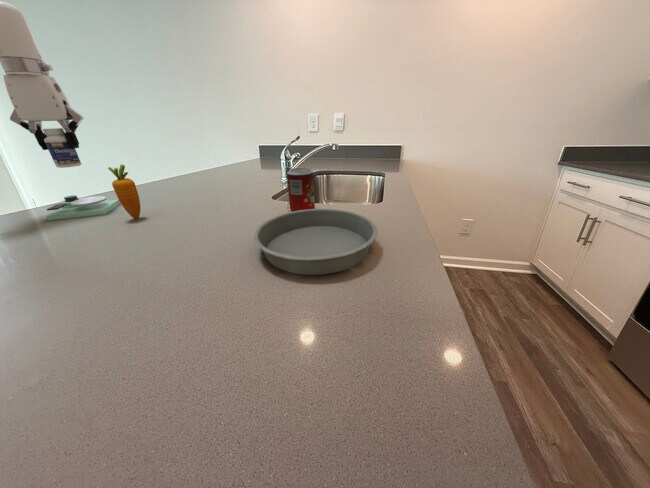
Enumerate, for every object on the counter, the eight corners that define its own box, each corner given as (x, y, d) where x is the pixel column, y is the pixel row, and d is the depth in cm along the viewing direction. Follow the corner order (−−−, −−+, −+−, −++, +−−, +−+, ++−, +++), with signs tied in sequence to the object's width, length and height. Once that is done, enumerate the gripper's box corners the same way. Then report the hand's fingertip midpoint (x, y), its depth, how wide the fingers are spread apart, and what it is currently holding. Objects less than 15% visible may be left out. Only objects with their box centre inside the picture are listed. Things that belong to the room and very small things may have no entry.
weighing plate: (65, 207, 74) (64, 205, 74) (80, 199, 81) (79, 198, 81) (99, 204, 76) (98, 202, 76) (111, 196, 84) (110, 195, 83)
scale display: (47, 210, 72) (46, 209, 72) (57, 205, 76) (57, 204, 76) (57, 209, 73) (57, 208, 73) (67, 204, 77) (67, 203, 77)
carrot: (122, 221, 71) (99, 166, 64) (139, 215, 75) (120, 162, 68) (134, 223, 69) (112, 166, 63) (151, 217, 73) (132, 163, 67)
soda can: (313, 217, 70) (310, 171, 64) (287, 217, 71) (283, 172, 65) (316, 209, 76) (314, 166, 71) (293, 209, 77) (289, 167, 71)
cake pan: (264, 228, 64) (261, 211, 62) (361, 222, 66) (362, 205, 64) (246, 286, 42) (241, 262, 40) (393, 275, 44) (395, 252, 42)
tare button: (64, 203, 80) (61, 198, 79) (69, 200, 82) (67, 195, 81) (75, 202, 80) (73, 197, 80) (80, 199, 83) (78, 195, 82)
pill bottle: (60, 168, 69) (41, 129, 65) (53, 167, 72) (35, 129, 67) (85, 165, 73) (69, 128, 69) (78, 164, 76) (62, 128, 71)
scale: (46, 220, 74) (40, 210, 72) (70, 207, 84) (66, 198, 83) (105, 214, 77) (101, 204, 76) (121, 202, 88) (117, 194, 87)
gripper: (76, 72, 68) (104, 145, 76) (-7, 71, 63) (32, 149, 71) (59, 67, 61) (92, 148, 69) (-35, 65, 57) (11, 152, 65)
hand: (61, 148), depth 70 cm, fingers closed on pill bottle, 5 cm apart
